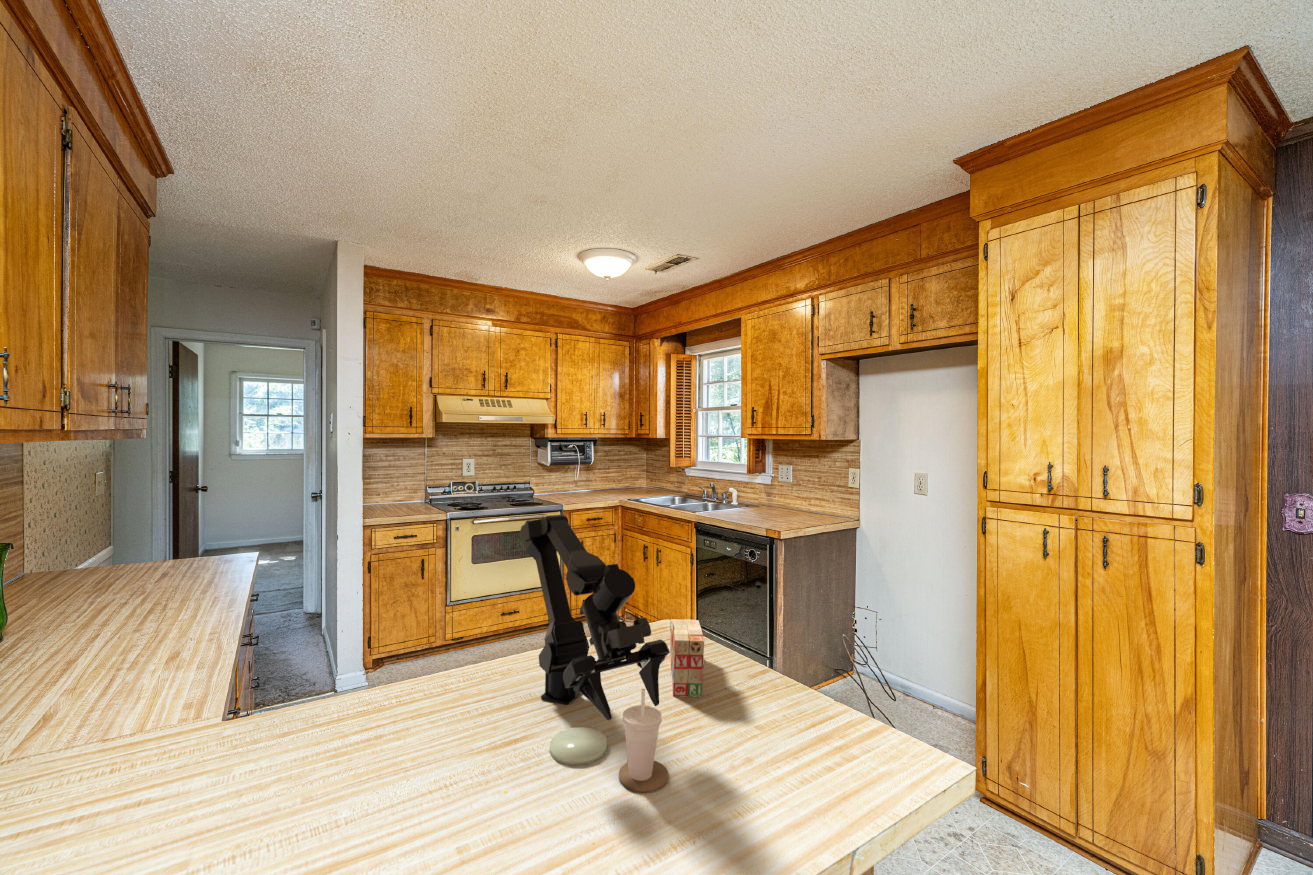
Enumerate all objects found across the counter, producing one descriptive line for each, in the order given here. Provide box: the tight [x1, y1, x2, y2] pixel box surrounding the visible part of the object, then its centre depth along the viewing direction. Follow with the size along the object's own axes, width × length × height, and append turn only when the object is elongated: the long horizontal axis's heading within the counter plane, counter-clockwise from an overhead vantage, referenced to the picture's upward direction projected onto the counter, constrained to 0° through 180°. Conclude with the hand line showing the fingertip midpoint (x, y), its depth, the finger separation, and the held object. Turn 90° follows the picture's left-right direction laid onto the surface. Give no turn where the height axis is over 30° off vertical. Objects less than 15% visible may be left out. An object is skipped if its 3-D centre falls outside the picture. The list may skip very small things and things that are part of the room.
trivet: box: [618, 760, 669, 794], centre depth 93 cm, size 8×8×1 cm
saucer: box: [548, 726, 608, 766], centre depth 101 cm, size 10×10×1 cm
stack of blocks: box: [669, 618, 705, 697], centre depth 132 cm, size 21×6×12 cm, turn 1°
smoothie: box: [621, 688, 663, 781], centre depth 93 cm, size 6×6×14 cm
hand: (634, 712), depth 96 cm, fingers open, 9 cm apart
